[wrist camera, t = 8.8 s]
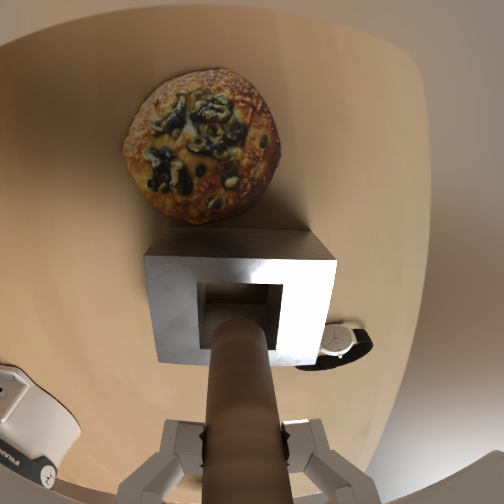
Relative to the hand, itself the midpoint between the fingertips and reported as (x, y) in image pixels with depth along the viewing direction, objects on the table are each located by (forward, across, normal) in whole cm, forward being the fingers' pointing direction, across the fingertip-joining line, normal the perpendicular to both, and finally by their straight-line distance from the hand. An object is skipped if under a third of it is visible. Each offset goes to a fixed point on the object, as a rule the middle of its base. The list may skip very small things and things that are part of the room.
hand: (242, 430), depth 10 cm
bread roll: (+15, +3, -10) cm, 18 cm away
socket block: (+14, 0, 0) cm, 14 cm away
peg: (+6, 0, 0) cm, 6 cm away
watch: (+14, -9, +7) cm, 18 cm away
